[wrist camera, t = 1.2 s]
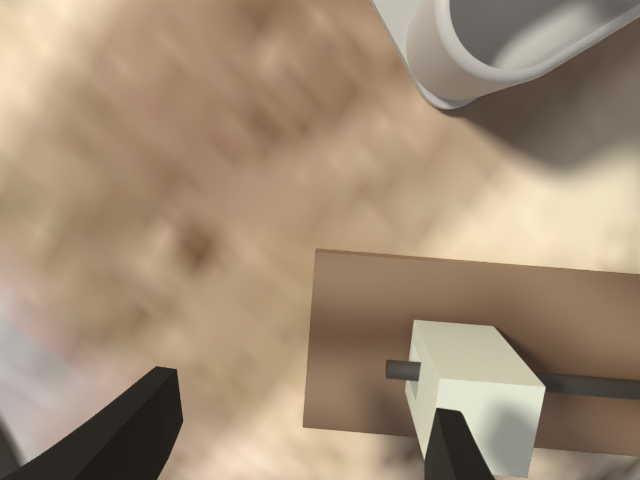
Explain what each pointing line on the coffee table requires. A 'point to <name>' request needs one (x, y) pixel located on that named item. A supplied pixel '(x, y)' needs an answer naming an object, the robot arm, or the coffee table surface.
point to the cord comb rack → (477, 309)
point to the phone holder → (492, 40)
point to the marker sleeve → (476, 391)
